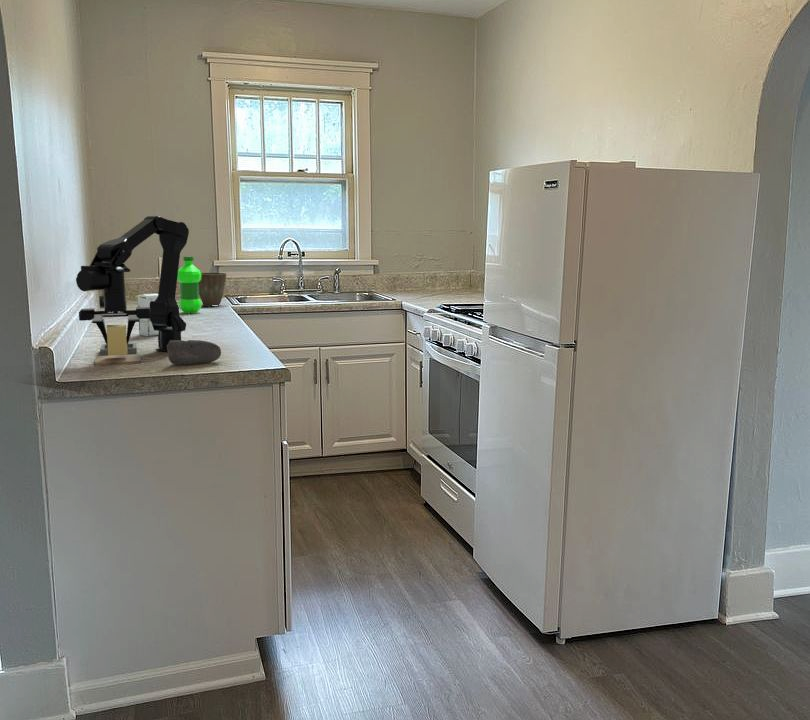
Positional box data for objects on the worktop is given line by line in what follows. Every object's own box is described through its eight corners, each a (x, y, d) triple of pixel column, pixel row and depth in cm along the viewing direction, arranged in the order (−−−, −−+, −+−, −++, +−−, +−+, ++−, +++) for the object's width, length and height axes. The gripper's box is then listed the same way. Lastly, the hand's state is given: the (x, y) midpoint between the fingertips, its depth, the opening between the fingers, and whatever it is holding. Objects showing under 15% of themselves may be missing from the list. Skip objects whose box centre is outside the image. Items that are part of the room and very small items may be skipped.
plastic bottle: (198, 311, 338) (196, 256, 333) (205, 313, 329) (203, 257, 325) (176, 312, 332) (173, 256, 328) (182, 314, 324) (180, 257, 319)
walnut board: (140, 356, 217) (140, 354, 217) (140, 363, 206) (140, 360, 206) (96, 358, 213) (96, 356, 213) (94, 365, 202) (94, 363, 202)
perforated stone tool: (219, 360, 212) (219, 336, 210) (223, 363, 207) (222, 339, 206) (165, 364, 206) (164, 339, 204) (167, 367, 201) (166, 342, 200)
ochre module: (127, 352, 213) (125, 324, 211) (127, 354, 208) (125, 326, 207) (108, 352, 211) (107, 325, 210) (108, 355, 206) (106, 327, 205)
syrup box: (153, 333, 265) (151, 293, 262) (162, 335, 261) (161, 294, 258) (139, 335, 260) (136, 294, 258) (148, 336, 257) (146, 295, 254)
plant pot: (197, 304, 366) (196, 272, 364) (228, 304, 369) (227, 272, 366) (194, 307, 352) (193, 274, 349) (226, 307, 355) (225, 274, 352)
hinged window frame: (136, 344, 239) (136, 338, 238) (136, 354, 220) (136, 348, 219) (103, 345, 235) (102, 339, 235) (100, 356, 216) (100, 349, 216)
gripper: (148, 286, 217) (151, 338, 220) (79, 287, 211) (83, 341, 213) (149, 289, 207) (152, 344, 209) (77, 290, 200) (80, 347, 203)
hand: (117, 344), depth 209 cm, fingers closed on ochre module, 5 cm apart
